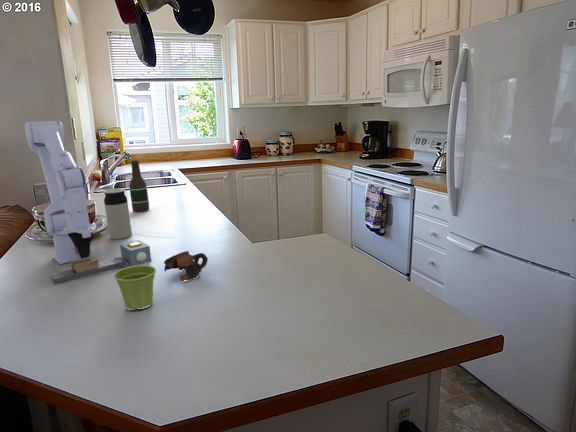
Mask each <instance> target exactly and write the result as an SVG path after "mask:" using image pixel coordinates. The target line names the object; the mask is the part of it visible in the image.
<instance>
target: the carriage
mask: <svg viewBox="0 0 576 432" xmlns="http://www.w3.org/2000/svg"><path fill="white" fill-rule="evenodd" d="M74 253H75V259H71V260H70V262H69V263H70V266H71V269H74V270H75V271H76V272H77V273H79V272H83V271H87V270H91V269H95V268H99V263H98V262H99V259H98V258H97V257H95V256H94V255H93V254H92V250H91V249H90V254H89V257H86V258H81V257H80V255H79V252H78V249H77V247H74Z"/></svg>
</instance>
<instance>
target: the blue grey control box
mask: <svg viewBox="0 0 576 432" xmlns="http://www.w3.org/2000/svg"><path fill="white" fill-rule="evenodd" d="M134 242H139V243H141V246H137V247H132V248H130V247H128V244H129V243H134ZM119 248H120V253H121V256H120V257H121V258H123V259H124V260H126V263H127V264H129V265H130V266H131V265H132V266H134V265H135V266H139V265H142V264H141V263H143V264H146V263H149V261H150V262H152V255H151V247H150V245H149V244H147V243H145V242H143V241H142V240H138V239H137V240H133V241H129V242H124V243H120V244H119ZM145 262H146V263H145ZM138 264H139V265H138ZM132 266H131V267H132Z"/></svg>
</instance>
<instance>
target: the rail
mask: <svg viewBox="0 0 576 432" xmlns="http://www.w3.org/2000/svg"><path fill="white" fill-rule="evenodd" d="M98 263H99V268H95V269H91V270H87V271H83V272H79V273H77V272H76V271H75V270H74V269H72V268H70V269H67V270H64V271H60V272H59V271H58V272H55V273H50V274H49V277H50V281H51V282H52V283H53V284H54V285H57V284H58V285H59V284H61V283H65V282H70V281H73V280H77V279H81V278H85V277H89V276H92V275H97V274H100V273H104V272H107V271H111V270H115V269H118V268H122V267H125V266H126V265H127V264H128V263H127V262H126V260H124V259H123V258H122V256H119V257H115V258H112V259H111V258H110V259H107V260H104V261H103V260H102V261H98Z"/></svg>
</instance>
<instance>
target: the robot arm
mask: <svg viewBox="0 0 576 432" xmlns="http://www.w3.org/2000/svg"><path fill="white" fill-rule="evenodd" d="M24 132H25V136H26V141H27V143H28V144H27V145H28V147H29V149H30V152H34V153H36V155H37V156H38V158H39V161H40V164H41V169H42V173H43V176H44V181H45V184H46V188H47V191H48V197H49V201H50V204H49V205H48V206H47V207H46V208H45V209H44V212H43V218H44V225H45V229H46V231H47V233H48V234H50V235H52V237H53V239H52V241H53V245H54V251H55V255H52V258H53V259H54V260H55V261H56V262H57V263H58V264H59V265H63V264H67V263H71V262H70V260H71V259H75V253H74V247H77V249H78V252H79V255H80V257H81V258H86V257H89V254H90V250H91V243H92V240H93V237H94V233H93V232H91V229H92V225H91V223H90V218H89V211H88V204H87V200H86V193H85V188H86V185H87V179H86V176H85V175H86V174H85V173H84V170H83V168H82V167H81V166H80V165H77V164H76V162H75V160H74V158H73V156H72V154H71V153H70V152H69V151H67V150H65V148H64V146H63V145H64V141H65V140H64V139H65V133H66V132H65V129H64V125H63V122H62V121H60V120H59V119H58V120H49V121H48V120H47V121H25V123H24Z"/></svg>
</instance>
